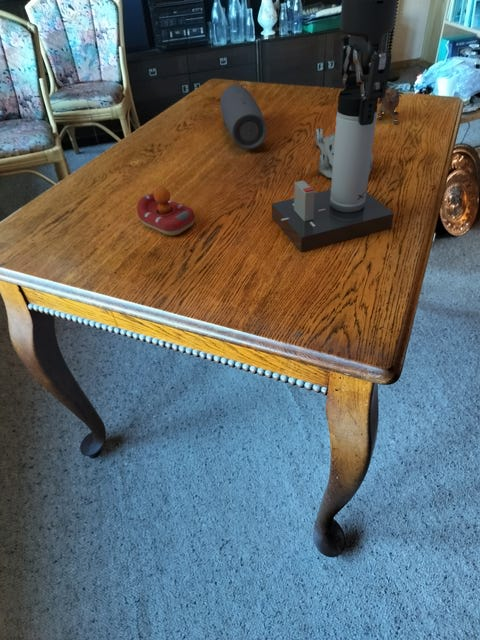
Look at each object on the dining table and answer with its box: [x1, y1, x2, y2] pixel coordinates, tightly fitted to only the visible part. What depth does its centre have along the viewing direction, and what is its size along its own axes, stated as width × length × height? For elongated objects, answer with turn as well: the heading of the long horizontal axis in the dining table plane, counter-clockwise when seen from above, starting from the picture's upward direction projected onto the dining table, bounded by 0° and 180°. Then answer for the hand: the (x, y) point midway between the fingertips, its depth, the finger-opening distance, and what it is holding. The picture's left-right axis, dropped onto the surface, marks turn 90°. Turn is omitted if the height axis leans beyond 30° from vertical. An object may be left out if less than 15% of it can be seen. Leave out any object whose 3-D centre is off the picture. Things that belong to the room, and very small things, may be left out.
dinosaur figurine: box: [376, 84, 405, 125], centre depth 120 cm, size 14×6×9 cm, turn 163°
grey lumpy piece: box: [314, 128, 374, 180], centre depth 105 cm, size 11×24×5 cm, turn 178°
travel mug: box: [330, 84, 380, 212], centre depth 79 cm, size 6×7×20 cm
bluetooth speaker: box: [219, 84, 268, 150], centre depth 117 cm, size 23×9×10 cm, turn 9°
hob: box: [271, 188, 395, 253], centre depth 86 cm, size 19×13×3 cm
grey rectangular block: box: [293, 179, 316, 222], centre depth 82 cm, size 4×2×6 cm, turn 19°
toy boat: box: [136, 186, 196, 237], centre depth 88 cm, size 8×12×8 cm, turn 51°
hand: (357, 116), depth 75 cm, fingers open, 6 cm apart
